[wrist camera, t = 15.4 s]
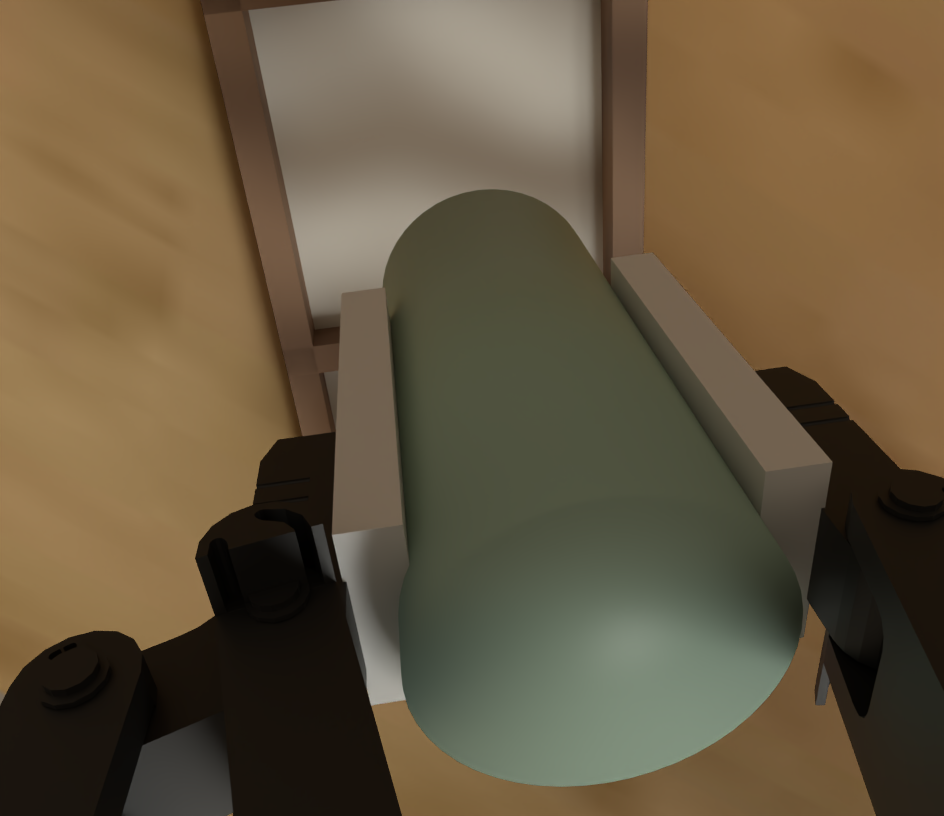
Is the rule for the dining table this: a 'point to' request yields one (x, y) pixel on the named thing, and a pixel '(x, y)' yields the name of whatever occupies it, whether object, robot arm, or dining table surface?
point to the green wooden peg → (564, 516)
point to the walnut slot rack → (420, 137)
